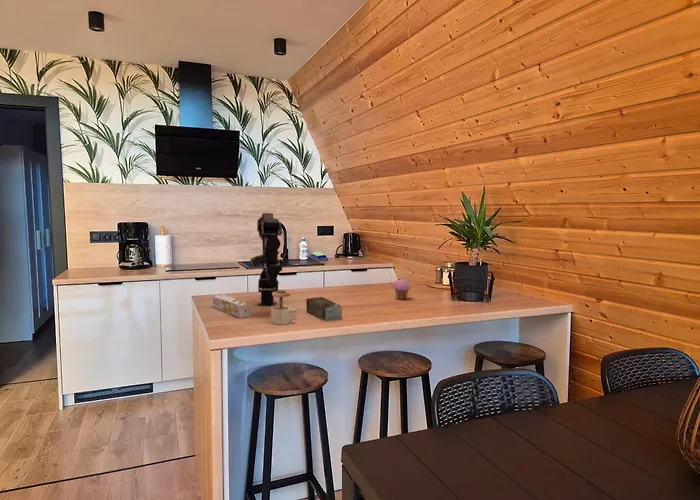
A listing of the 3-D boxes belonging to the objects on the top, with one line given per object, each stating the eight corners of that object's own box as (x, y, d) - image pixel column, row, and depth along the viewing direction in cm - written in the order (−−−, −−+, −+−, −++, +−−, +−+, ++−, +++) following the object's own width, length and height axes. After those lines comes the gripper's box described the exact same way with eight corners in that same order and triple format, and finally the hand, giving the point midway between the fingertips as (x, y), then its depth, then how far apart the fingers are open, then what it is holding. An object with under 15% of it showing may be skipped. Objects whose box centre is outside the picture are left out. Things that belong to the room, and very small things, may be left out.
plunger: (277, 305, 183) (277, 288, 182) (293, 306, 181) (293, 289, 180) (268, 308, 176) (268, 291, 176) (285, 310, 174) (285, 292, 173)
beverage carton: (324, 322, 181) (324, 305, 181) (305, 312, 198) (305, 297, 197) (342, 320, 185) (342, 304, 185) (321, 310, 202) (322, 295, 201)
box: (212, 307, 205) (212, 294, 204) (223, 305, 208) (223, 293, 207) (239, 319, 183) (239, 305, 183) (251, 317, 187) (251, 304, 186)
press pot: (268, 324, 176) (268, 309, 175) (274, 319, 183) (274, 305, 183) (293, 325, 174) (293, 311, 174) (298, 320, 182) (298, 306, 181)
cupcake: (411, 300, 225) (411, 280, 224) (393, 300, 225) (394, 280, 224) (408, 297, 234) (409, 278, 233) (392, 297, 234) (392, 277, 233)
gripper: (248, 247, 197) (248, 282, 199) (254, 251, 180) (254, 290, 181) (274, 246, 201) (274, 281, 202) (282, 250, 184) (282, 288, 185)
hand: (270, 285), depth 193 cm, fingers open, 4 cm apart
